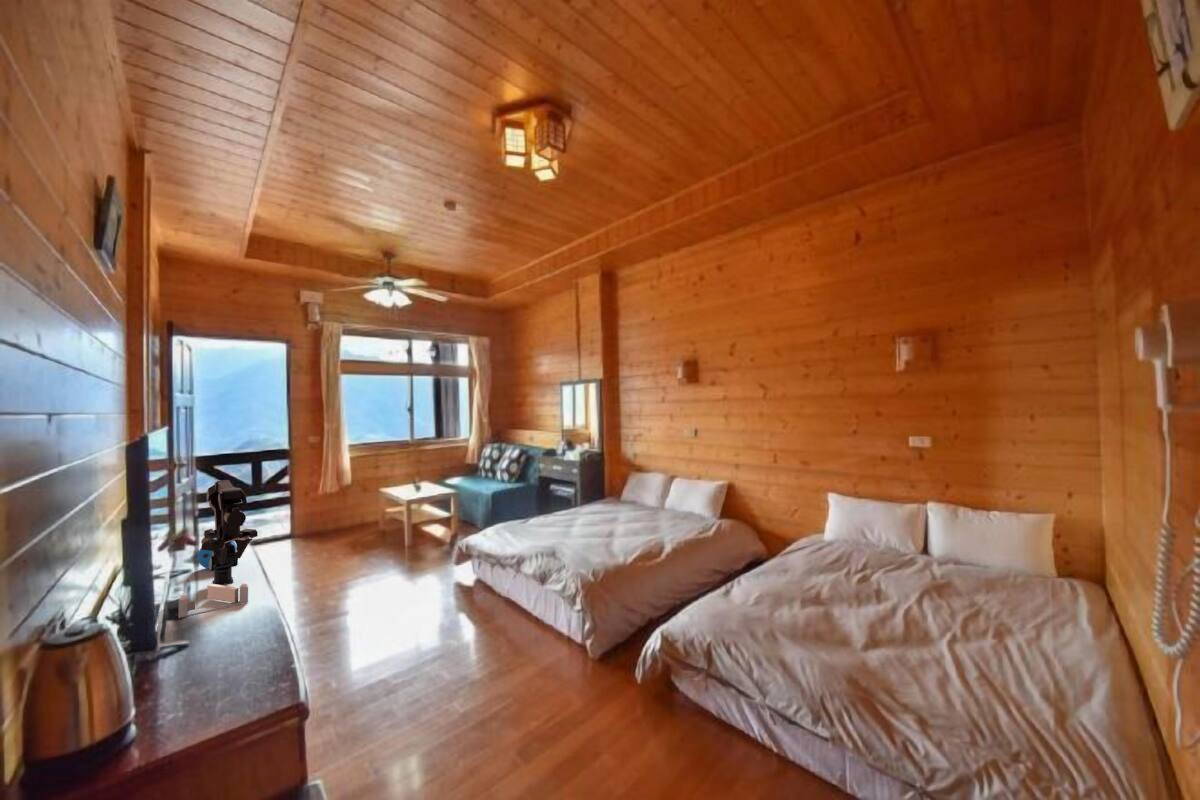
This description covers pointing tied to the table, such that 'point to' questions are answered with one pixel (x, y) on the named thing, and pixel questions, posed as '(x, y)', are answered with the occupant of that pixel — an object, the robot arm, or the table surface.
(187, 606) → the gate frame
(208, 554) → the alarm clock
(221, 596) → the gate
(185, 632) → the table surface
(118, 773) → the table surface
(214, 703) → the table surface
